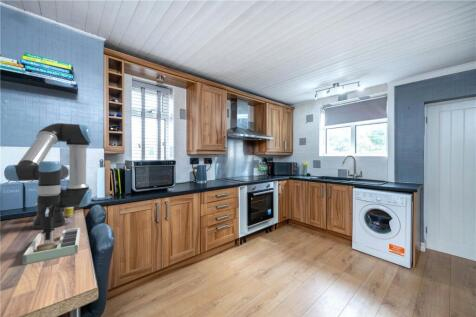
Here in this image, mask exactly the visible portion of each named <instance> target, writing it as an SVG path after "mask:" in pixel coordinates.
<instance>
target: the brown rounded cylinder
mask: <svg viewBox="0 0 476 317" xmlns="http://www.w3.org/2000/svg"><path fill="white" fill-rule="evenodd" d="M51 249H55V243H54V242H52V243H46V244H44V243H43V244H38V246H37V247H36V249H35V250H36V251H35V252H40V251H46V250H51Z"/></svg>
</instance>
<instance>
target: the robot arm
mask: <svg viewBox="0 0 476 317" xmlns="http://www.w3.org/2000/svg"><path fill="white" fill-rule="evenodd" d="M35 138H36V139H35V140H34V142H33V143H32V144H31V145H30V147H29V148H28V150H27V151H26V152H25V154H24V155H23V157H22V158H21V159H20V160H19V162H18V163H17V164H9V165H7V166H6V167H5V168H4V171H3V176H4V178H5V180H7V181H8V182H9V181H10V182H28V181H29V182H30V181H33V182H34V181H38V182H37V183H38V184H37V185H38V187H37V188H36V191H37V198H36V200H37V201H36V203H37V205H36V216H35V218H34V220H33V223H32V224H31V228H32V229H33V230H43V231H42V232H41V234H43V244H46V243H53V231H55V228H57V227H62V226H64V225H65V224H66V221H67V220H66V218H65V217H64V212H63V209H64V208H69V207H74V208H81V207H87V206H88V205H89V204H90V202H91V198H92V194H93V190H92V188H90V186H89V185H88V184H87V148H88V147H89V146H90V144H91V143H93V133H92V130H91V128H90V126H89V125H86V124H75V123H61V122H57V123H52V124H50V125H47V126H44V127H42V128H41V129H40V130H39V131H38V132H37V134H36V136H35ZM60 142H61V143H62V142H63V143H66V146H67V147H69V149H68V150H69V151H68V152H69V153H68V155H69V159H68V160H69V162H68V164H69V167H68V166H66V165H63V164H62V162H61V161H58V160H57V161H54V160H53V161H51V160H49V161H45V158H46V157H47V155H48V154H49V152H50V151H51V148H52V147H53V146H54V145H56V144H57V143H60ZM67 178H69V180H68V181H69V182H68V183H69V185H67V186H66V188H65V189H64V187H63V186H62V184H61V181H62V180H65V179H67ZM61 186H62V187H61Z"/></svg>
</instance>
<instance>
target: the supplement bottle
mask: <svg viewBox="0 0 476 317" xmlns="http://www.w3.org/2000/svg"><path fill="white" fill-rule="evenodd" d="M74 210H75V207H69V208H63V215H64V217H69V218H73V217H74ZM72 216H73V217H72Z"/></svg>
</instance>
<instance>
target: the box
mask: <svg viewBox="0 0 476 317" xmlns="http://www.w3.org/2000/svg"><path fill="white" fill-rule="evenodd" d="M61 233H62V234H61V236H60V238H59V243H57V246H56V248H54V249H51V250H46V251H40V252H36V251H35V250H36V249H37V246H39V245H40V243H41V240H42V232H41V233H38V234H37V235H36V237H35V238H34V239H33V241H32V242H31V243H30V244H29V246H28V248H27V249H26V250H25V252H24V253H23V255H22V265H23V266H24V265H28V264H33V262H34V263H38V262H43V261H49V260H51V259H57V258H62V256H63V257H67V256H71V255H70V254H72V255H76V254H75V253H77V254H78V252H79V245H80V244H79V243H80V235H81V227H75V228H69V229H63V230H62V232H61ZM66 255H67V256H66Z"/></svg>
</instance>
